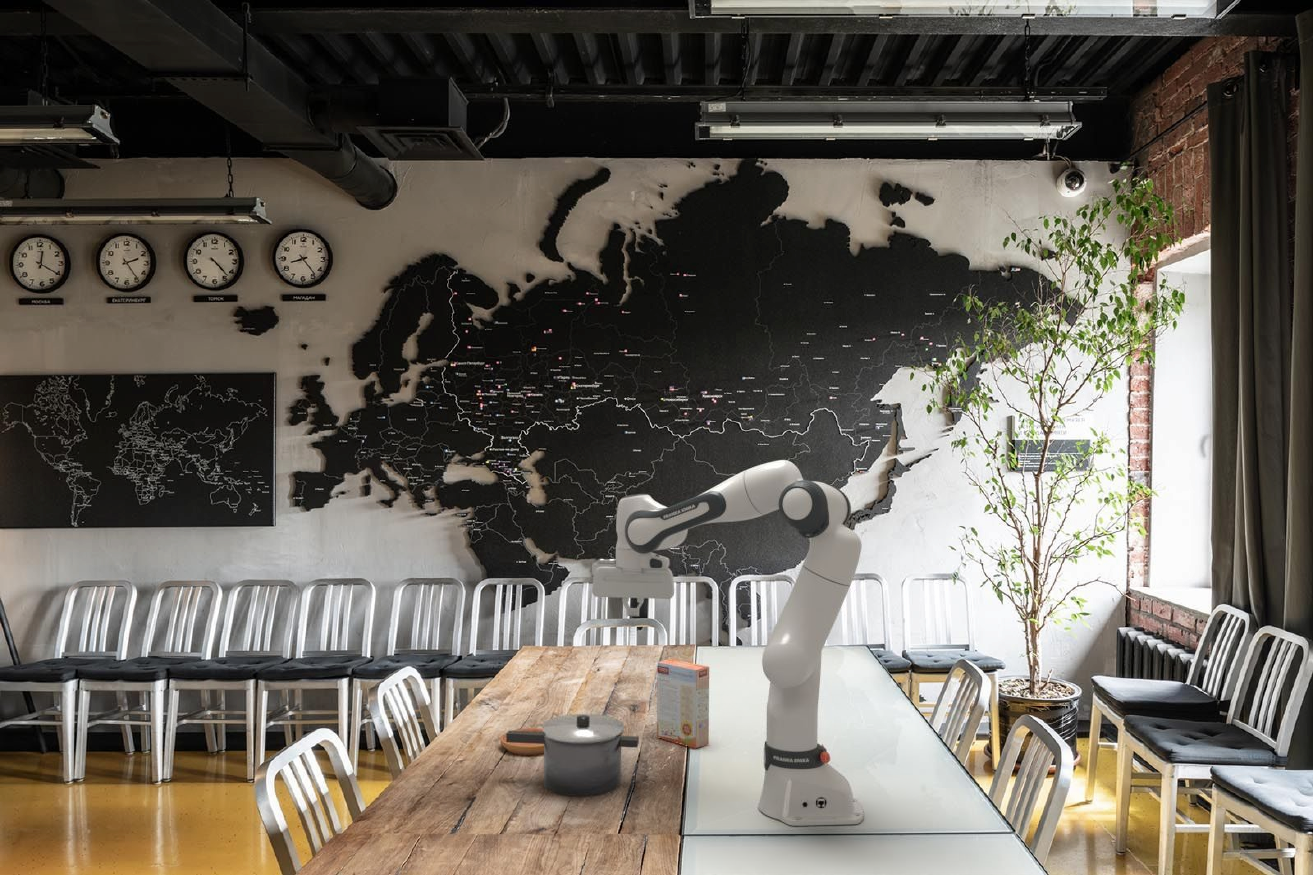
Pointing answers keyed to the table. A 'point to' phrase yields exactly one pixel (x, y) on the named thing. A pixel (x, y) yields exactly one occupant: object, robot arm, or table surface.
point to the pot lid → (582, 728)
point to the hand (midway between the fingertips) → (632, 615)
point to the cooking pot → (578, 763)
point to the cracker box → (683, 702)
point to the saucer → (523, 745)
